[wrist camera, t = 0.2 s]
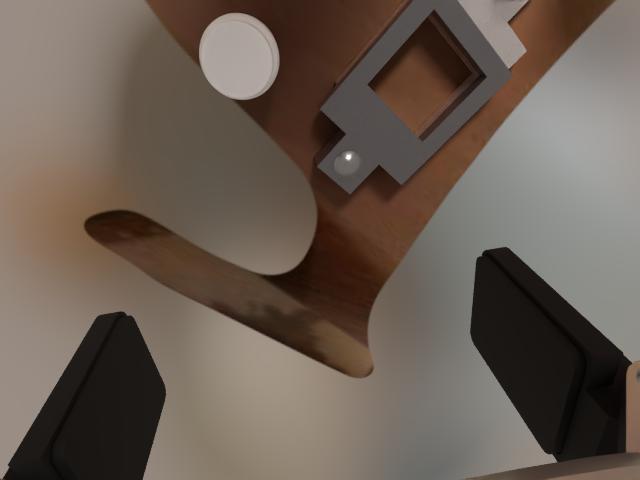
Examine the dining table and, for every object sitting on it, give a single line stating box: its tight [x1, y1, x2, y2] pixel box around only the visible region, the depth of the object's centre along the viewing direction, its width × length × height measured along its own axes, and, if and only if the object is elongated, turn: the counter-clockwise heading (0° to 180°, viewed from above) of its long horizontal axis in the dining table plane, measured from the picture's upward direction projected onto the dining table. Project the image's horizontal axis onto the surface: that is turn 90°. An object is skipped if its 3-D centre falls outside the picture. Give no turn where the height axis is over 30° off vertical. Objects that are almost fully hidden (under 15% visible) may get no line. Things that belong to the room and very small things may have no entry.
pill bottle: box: [199, 13, 280, 100], centre depth 30 cm, size 6×6×10 cm
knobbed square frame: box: [314, 0, 528, 194], centre depth 35 cm, size 24×11×3 cm, turn 137°
